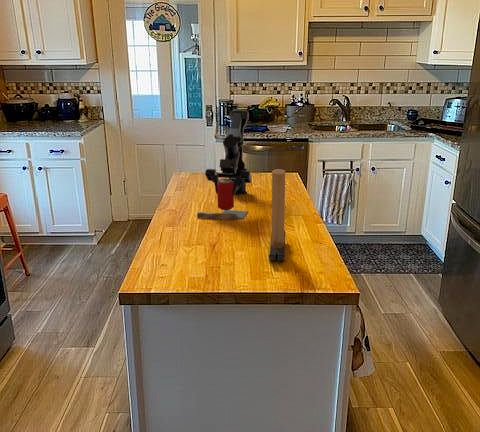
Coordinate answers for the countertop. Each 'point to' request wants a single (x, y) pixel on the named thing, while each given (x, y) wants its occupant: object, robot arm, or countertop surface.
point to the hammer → (278, 216)
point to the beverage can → (225, 194)
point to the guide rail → (216, 215)
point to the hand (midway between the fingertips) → (224, 193)
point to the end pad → (238, 213)
